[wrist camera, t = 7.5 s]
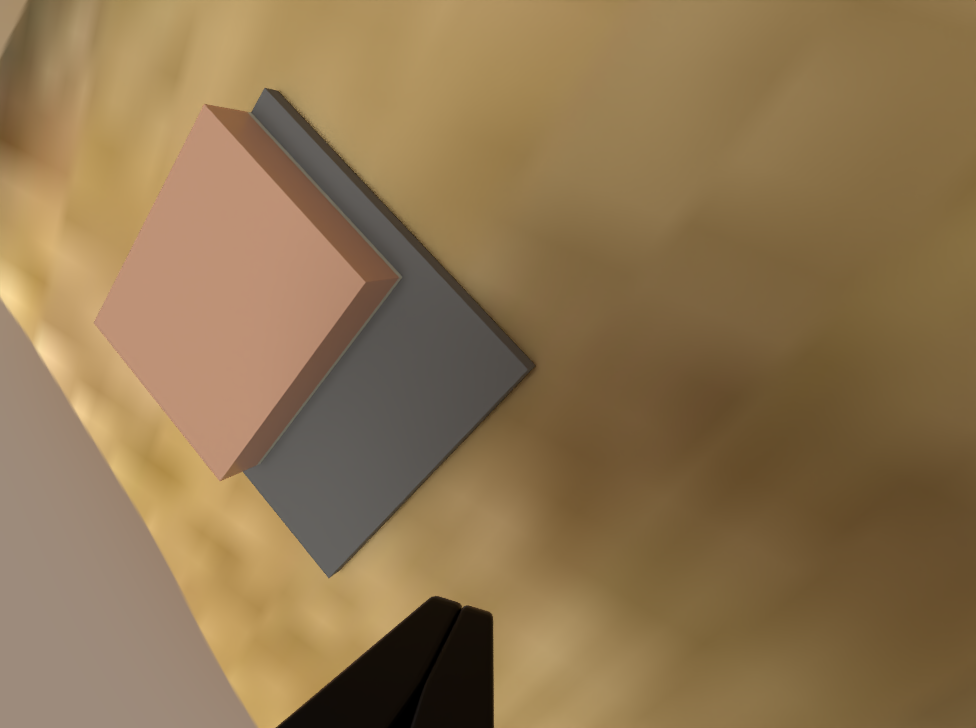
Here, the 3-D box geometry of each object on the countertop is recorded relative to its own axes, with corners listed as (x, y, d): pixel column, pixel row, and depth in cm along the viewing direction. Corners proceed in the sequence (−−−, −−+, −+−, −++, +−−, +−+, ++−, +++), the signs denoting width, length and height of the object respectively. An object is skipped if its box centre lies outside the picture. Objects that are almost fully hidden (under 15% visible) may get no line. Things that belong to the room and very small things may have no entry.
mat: (535, 365, 21) (528, 369, 21) (338, 570, 26) (328, 578, 26) (277, 90, 23) (264, 87, 23) (144, 330, 29) (131, 332, 28)
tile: (365, 282, 20) (204, 104, 22) (219, 481, 25) (93, 322, 26) (402, 277, 22) (251, 112, 23) (260, 463, 26) (140, 316, 28)
